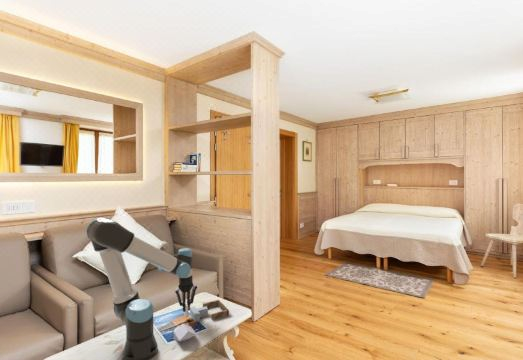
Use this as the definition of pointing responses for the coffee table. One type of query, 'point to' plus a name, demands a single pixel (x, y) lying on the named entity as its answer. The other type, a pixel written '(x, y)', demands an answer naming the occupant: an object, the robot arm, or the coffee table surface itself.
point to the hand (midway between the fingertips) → (186, 316)
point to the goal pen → (217, 303)
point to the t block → (198, 313)
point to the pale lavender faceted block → (183, 333)
